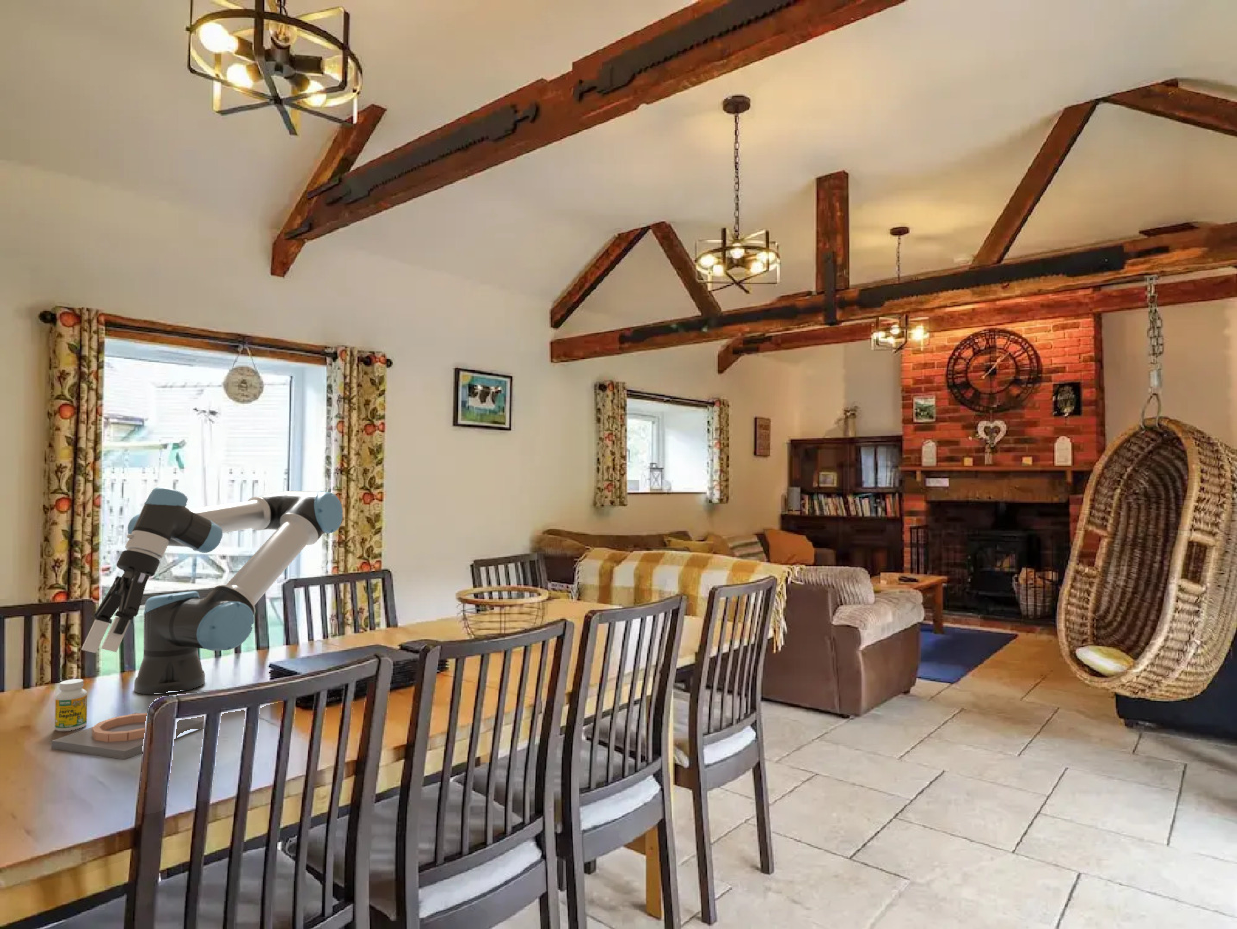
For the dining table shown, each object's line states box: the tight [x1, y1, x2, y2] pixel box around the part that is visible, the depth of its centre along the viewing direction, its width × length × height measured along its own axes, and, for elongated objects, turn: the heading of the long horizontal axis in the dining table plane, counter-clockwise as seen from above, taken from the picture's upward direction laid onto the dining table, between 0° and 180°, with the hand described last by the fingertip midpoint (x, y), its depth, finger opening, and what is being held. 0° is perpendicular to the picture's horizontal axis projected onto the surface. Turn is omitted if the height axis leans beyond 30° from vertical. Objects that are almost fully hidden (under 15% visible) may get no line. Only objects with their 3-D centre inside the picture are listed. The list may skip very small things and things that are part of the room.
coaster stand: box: [51, 712, 204, 760], centre depth 150 cm, size 18×18×3 cm
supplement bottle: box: [54, 678, 88, 732], centre depth 155 cm, size 5×5×10 cm
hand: (98, 650), depth 155 cm, fingers open, 13 cm apart
